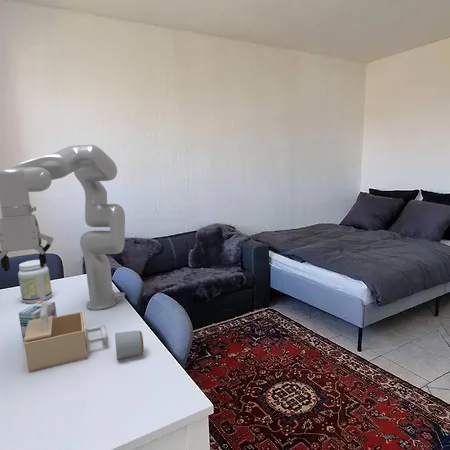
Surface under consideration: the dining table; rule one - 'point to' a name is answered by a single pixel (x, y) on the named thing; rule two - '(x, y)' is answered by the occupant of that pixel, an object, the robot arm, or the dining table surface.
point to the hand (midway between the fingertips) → (25, 268)
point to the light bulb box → (34, 314)
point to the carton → (62, 343)
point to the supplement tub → (34, 282)
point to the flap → (39, 325)
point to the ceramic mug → (129, 344)
